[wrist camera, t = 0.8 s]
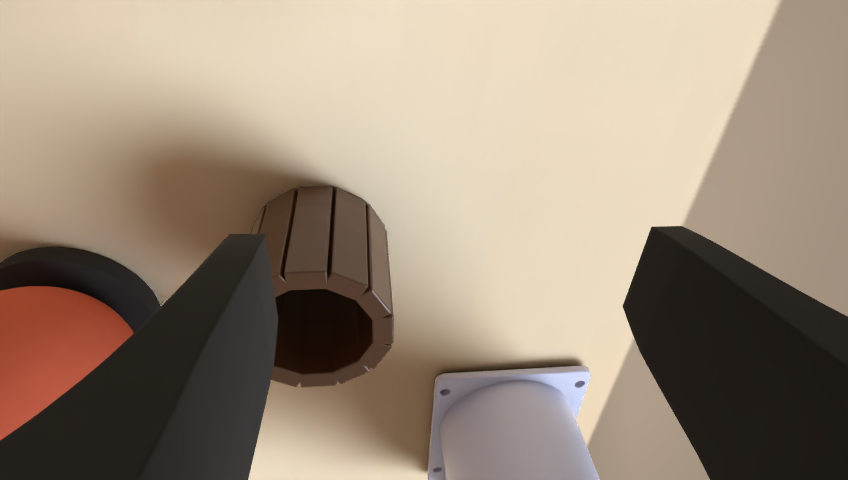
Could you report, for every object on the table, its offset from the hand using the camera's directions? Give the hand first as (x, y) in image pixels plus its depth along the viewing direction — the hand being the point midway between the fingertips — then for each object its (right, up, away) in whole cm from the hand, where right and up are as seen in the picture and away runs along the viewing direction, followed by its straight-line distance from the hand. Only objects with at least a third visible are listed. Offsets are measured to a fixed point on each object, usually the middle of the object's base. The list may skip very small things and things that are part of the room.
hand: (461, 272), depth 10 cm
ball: (-15, -2, +12) cm, 19 cm away
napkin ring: (-5, 0, +11) cm, 12 cm away
